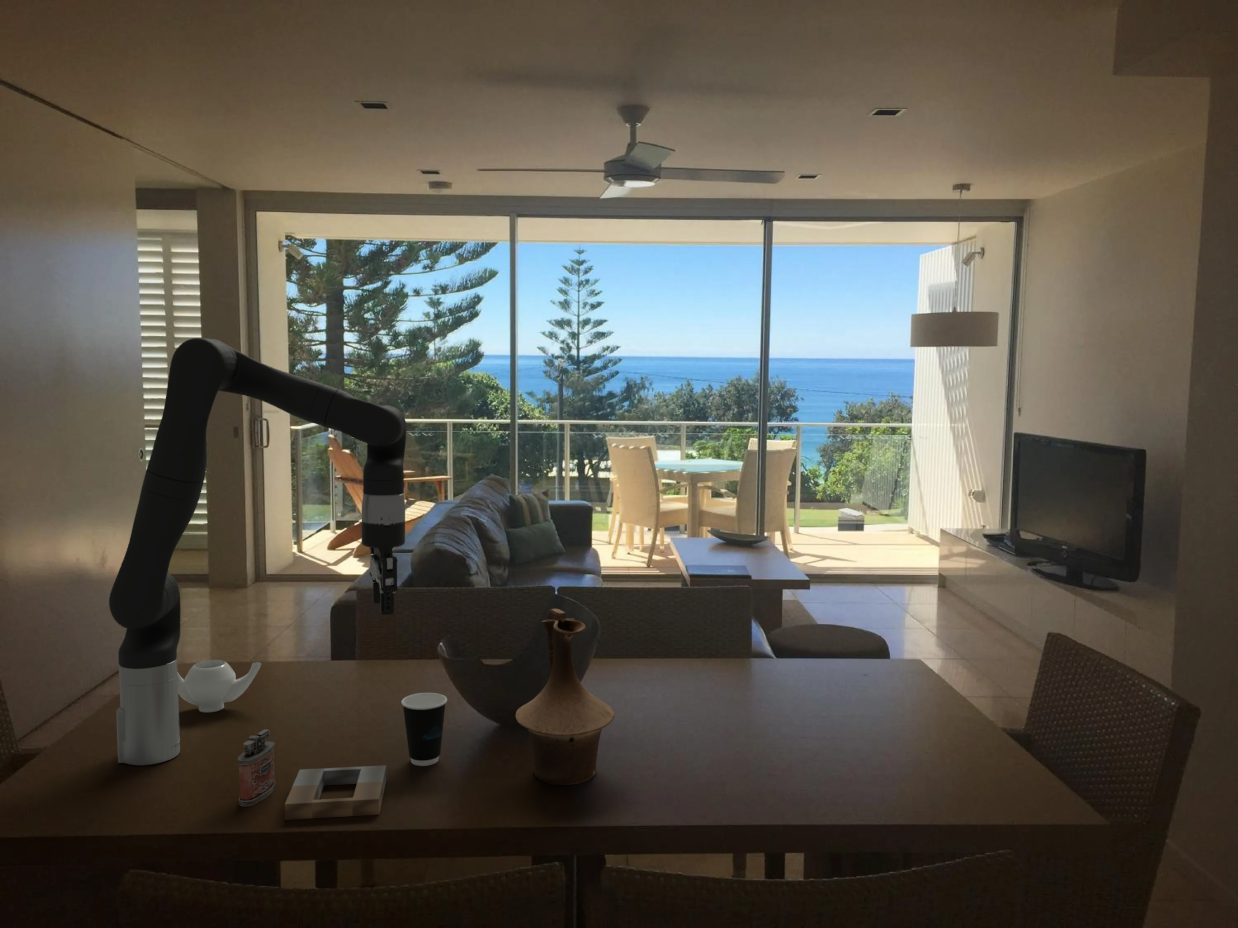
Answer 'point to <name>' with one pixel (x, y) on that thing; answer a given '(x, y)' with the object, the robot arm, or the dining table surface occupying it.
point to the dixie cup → (424, 726)
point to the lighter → (256, 769)
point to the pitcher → (564, 713)
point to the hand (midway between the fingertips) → (383, 608)
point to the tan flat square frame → (364, 801)
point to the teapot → (213, 684)
